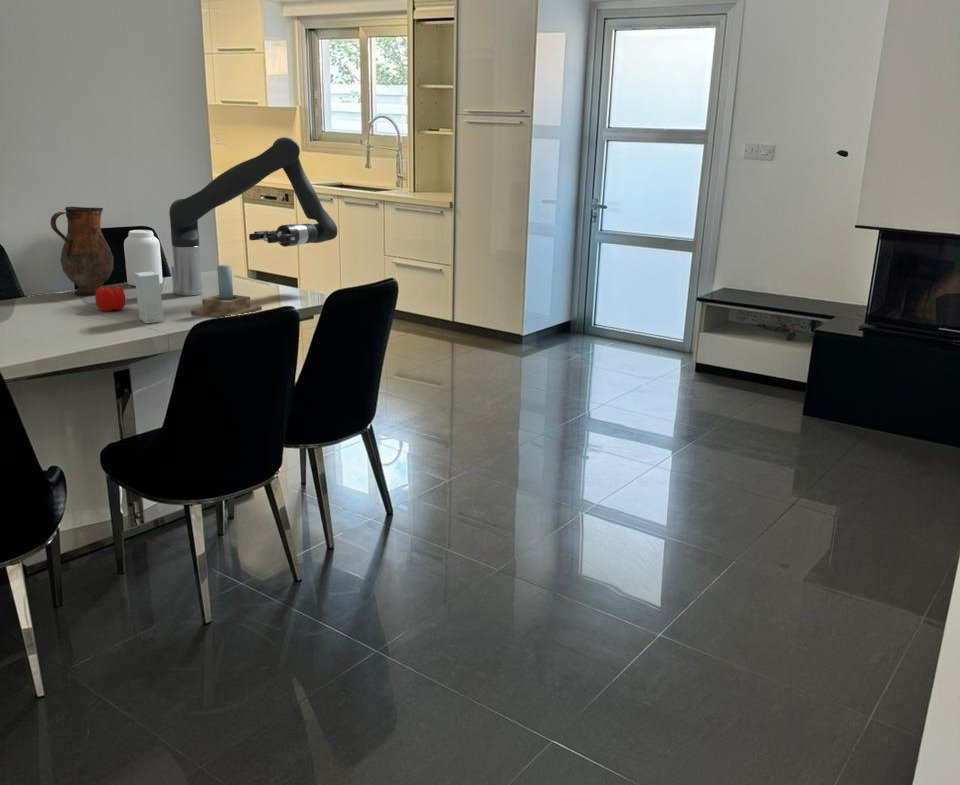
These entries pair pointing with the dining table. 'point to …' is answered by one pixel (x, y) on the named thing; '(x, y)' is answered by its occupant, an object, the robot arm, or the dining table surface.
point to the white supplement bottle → (142, 254)
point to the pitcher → (84, 249)
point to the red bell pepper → (110, 298)
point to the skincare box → (149, 297)
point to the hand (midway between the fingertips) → (259, 238)
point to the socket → (226, 306)
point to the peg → (225, 282)
